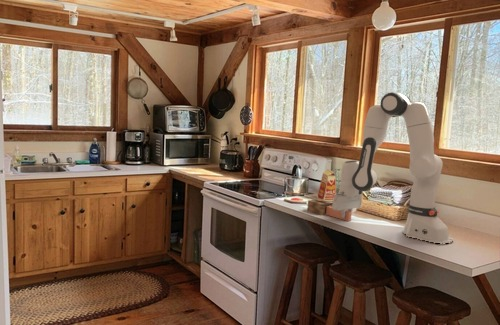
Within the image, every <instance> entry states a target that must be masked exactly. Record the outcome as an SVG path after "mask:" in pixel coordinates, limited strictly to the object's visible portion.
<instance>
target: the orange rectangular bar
mask: <svg viewBox="0 0 500 325" xmlns="http://www.w3.org/2000/svg"><path fill="white" fill-rule="evenodd" d="M345 214H346V218H342V214H341V210H340V211H336V210H333V209H332V207H331V206H327V209H326V213H325V215H326V216H330V217H331V218H332V217H333V218H337V219H339V220H342V221H347V222H351V221H352V214H353V213H352V212H349V211H345Z"/></svg>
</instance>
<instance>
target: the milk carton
mask: <svg viewBox="0 0 500 325" xmlns="http://www.w3.org/2000/svg"><path fill="white" fill-rule="evenodd" d="M336 180H337V179H336V175H335V171H333V170H332V169H331V170H330V169H329V167H327V168H326V170H324V171H323V172H322V175H321V179H320V184H319V189H318V192H317V196H316V199H320V200H324V201H328V202H333V199H334V197H335V195H336V194H337V181H336Z"/></svg>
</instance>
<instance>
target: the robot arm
mask: <svg viewBox="0 0 500 325" xmlns="http://www.w3.org/2000/svg"><path fill="white" fill-rule="evenodd" d="M396 117H403V119H404V122H405V126H406V132H407V137H408V142H409V166H408V168H409V171H410V173H411V175H413V176H414V180H413V184H412V186H411V190H410V197H409V204H408V205H407V206H408V208H407V218H406V222H405V226H404V227H403V228H404V229H403V231H402V233H403V234H404V235H405V234H406V235H405V236H406V237H407V236H408V237H407V238H409V237H412V238H411V239H413V238H417V239H416V240H418V239H421V240H420V241H422V240H426V241H430V242H435V243H449V242H452V241H453V242H454V238H453V237H450V236H449V227H448V225H446V223H444V222H443V220H441V219H440V218H439V217H438V213H439V212H440V209H439V210H437V209H436V206H435V205H436V197H437V189H438V187H439V183H440V178H441V175H442V169H443V167H444V165H443V164H444V163H443V160H442V158H440V156H438V155H437V154H435V145H434V144H435V136H434V131H433V126H432V122H431V118H430V114H429V112H428V108H427V107H426V105H425V103H423V102H419V101H415V102H412V101H411V99H410V97H409V96H407V95H405V94H403V93H401V92H395V91H394V92H393V91H392V92H391V91H390V92H388V93H385V94H384V95H383V97H382V98H381V100H380V104H376V105H375V104H374V105H373V106H370V107H369V109H368V111H367V114H366V117H365V121H364V125H363V132H362V133H363V134H362V146H361V147H362V148H361V150H360V157H359V160H347V161H345V162H343V164H342V166H341V167H342V168H341V171H340V172H341V173H340V180H341V181H340V183H339V192H336V195H335V197H334V199H333V201H332V203H333V204H332V209H333V210H336V211H340V210H341V214H342V218H346V214H345V210H347V209H348V211H349V212H352V209H353V208H357V209H359V208H361V206H362V203H363V194H364V192H366V191H368V190H370V189H371V188H372V187H373V186H374V185H376V183H377V182H378V174H377V172H376V171H375V170H374V169H372V168H373V163H374V159H375V154H376V152H377V151H378V149H379V147H380V146H381V145H382V144H383V143H384V141H385V138H386V135H387V130H388V124H389V121H390V119H391V118H396ZM426 241H425V242H426ZM430 242H429V243H430ZM453 242H452V243H453ZM435 243H434V244H435ZM449 244H450V243H449Z"/></svg>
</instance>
